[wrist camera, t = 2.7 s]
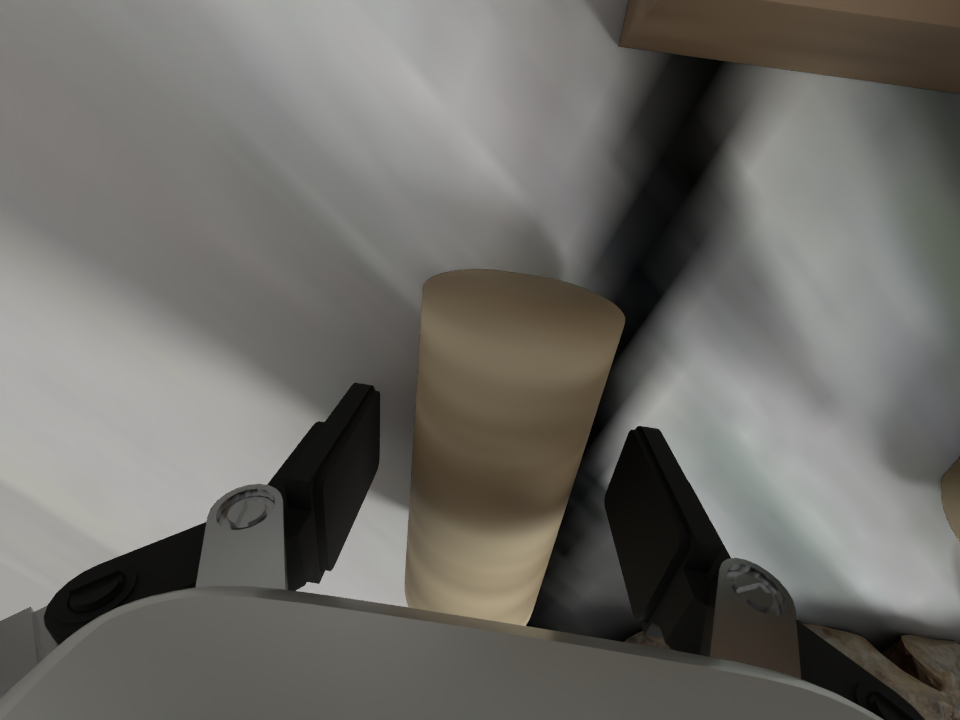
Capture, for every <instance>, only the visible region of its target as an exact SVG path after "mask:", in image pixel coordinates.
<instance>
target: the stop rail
mask: <svg viewBox="0 0 960 720" xmlns="http://www.w3.org/2000/svg"><path fill="white" fill-rule="evenodd" d="M618 46H620V47H627V48H634V49H641V50H648V51H656V52H663V53H670V54H677V55H684V56H692V57H699V58H706V59H713V60H720V61H728V62H735V63H742V64H749V65H756V66H764V67H771V68H778V69H785V70H792V71H800V72H807V73H814V74H821V75H828V76H836V77H843V78H850V79H857V80H864V81H872V82H879V83H886V84H893V85H900V86H908V87H915V88H922V89H929V90H936V91H944V92H951V93H958V94H960V0H629V2H628V6H627V10H626V15H625V19H624V23H623V28H622V32H621V36H620V41H619V45H618Z"/></svg>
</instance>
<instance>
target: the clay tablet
mask: <svg viewBox="0 0 960 720" xmlns="http://www.w3.org/2000/svg"><path fill="white" fill-rule="evenodd" d="M802 624H803V623H802ZM803 625H805V626H806V627H807V628H809V629H810V630H812V631H813V632H814V633H816V634H817V635H818V636H820V637H821V638H822V639H824V640H825V641H827V642H828V643H829V644H831V645H832V646H833V647H835V648H836V649H838V650H839V651H840V652H842V653H843V654H844V655H846V656H847V657H849V658H850V659H851V660H853V661H854V662H855V663H857V664H858V665H859V666H861V667H862V668H864V669H865V670H866V671H868V672H869V673H870V674H872V675H873V676H875V677H876V678H877V679H879V680H880V681H881V682H883V683H884V684H886V685H887V686H888V687H890V688H891V689H892V690H894V691H895V692H896V693H898V694H899V695H900V696H901V697H902V698H904V699H905V700H906V701H907V702H908V703H910V704H911V705H912V706H913V707H914V708H915V709H916V710H917V711H918V712H919V713H920V714H921V716H922V717H923V718H924V719H925V720H960V644H958V643H957V642H955V641H952V640H937V639H930V638H926V637H922V636H917V635H912V634H911V635H903V636H901V638H902V639H901V640H900V641H898V642H897V643H896V644H894V645H893V646H892V647H890V648H889V649H888V650H886V651H885V652H883V653H882V654H881V653H880V652H879V651H878V650H877V649H876V648H875V647H874V646H873V645H871V644H870V643H869V642H868V641H867V640H866V639H865V638H864V637H862V636H859V635H856V634H853V633H850V632H845V631H840V630H836V629H831V628H827V627H824V626H818V625H812V624H803ZM624 642H626V643H632V644H638V645H644V646H651V647H657V648H663V649H669V646H668V645H667V644H666V643H665V642H664V638H658V637H651V636H645V635H644V631H641V632H639V633H637V634H635V635H633V636H632V637H630V638H628V639H627V640H625V641H624Z"/></svg>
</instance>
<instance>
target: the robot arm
mask: <svg viewBox="0 0 960 720" xmlns="http://www.w3.org/2000/svg"><path fill="white" fill-rule="evenodd" d="M379 452H380V392H379V391H375V389H374V386H373V385H366V384H359V383H354V384H353V385H352V386H351V387H350V389H349V390H348V391H347V393H346V394H345V395H344V397H343V398H342V400H341V401H340V402H339V404H338V405H337V406H336V408H335V409H334V410H333V412H332V413H331V414H330V416H329V417H328V419H327V420H326V421H325V422H320V421H319V422H316V423H315V424H314V425H313V426H312V428H311V429H310V430H309V431H308V433H307V434H306V435H305V437H304V438H303V439H302V441H301V442H300V443H299V444H298V446H297V447H296V448H295V450H294V451H293V452H292V453H291V455H290V456H289V457H288V459H287V460H286V461H285V463H284V464H283V465H282V466H281V468H280V469H279V470H278V472H277V473H276V474H275V475H274V477H273V478H272V479H271V481H270V482H269V483H268V485H264V484H253V485H246V486H243V487H240V488H236V489H234V490H232V491H230V492H228V493H226V494H225V495H224V496H222V497H221V498H220V499H219V500H217V501H216V503H215V504H214V505H213V506H212V507H211V509H210V512H209V514H208V517H207V522H205V523H203V524H200V525H198V526H195V527H193V528H190V529H188V530H185V531H183V532H180V533H178V534H175V535H172V536H170V537H167V538H165V539H162V540H160V541H157V542H155V543H152V544H150V545H147V546H145V547H142V548H140V549H137V550H134V551H132V552H129V553H127V554H124V555H122V556H119V557H117V558H114V559H112V560H109V561H107V562H104V563H102V564H99V565H97V566H95V567H93V568H91V569H89V570H87V571H84V572H83V573H81V574H80V575H78V576H77V577H75V578H74V579H72V580H71V581H69V582H68V583H67V584H66V585H65V586H64V587H63V588H62V589H60V590H59V591H58V592H57V593H56V594H55V596H54V597H53V599H52V600H51V601H50V603H49V604H48V606H46V607H44V608H41V609H40V610H37V611H35V612H34V611H33V609H32V608H31V607H29V608H27V609H25V610H23V611H21V612H19V613H17V614H14V615H12V616H10V617H8V618H6V619H4V620H2V621H0V720H925V719H924V718H923V717H922V716H921V714H920V713H919V712H918V711H917V710H916V709H915V708H914V707H913V706H912V705H911V704H910V703H908V702H907V701H906V700H905V699H904V698H902V697H901V696H900V695H899V694H898V693H896V692H895V691H894V690H892V689H891V688H890V687H888V686H887V685H886V684H884V683H883V682H881V681H880V680H879V679H877V678H876V677H875V676H873V675H872V674H870V673H869V672H868V671H866V670H865V669H864V668H862V667H861V666H859V665H858V664H857V663H855V662H854V661H853V660H851V659H850V658H849V657H847V656H846V655H844V654H843V653H842V652H840V651H839V650H838V649H836V648H835V647H833V646H832V645H831V644H829V643H828V642H827V641H825V640H824V639H822V638H821V637H820V636H818V635H817V634H816V633H814V632H813V631H812V630H810V629H809V628H807V627H806V626H805V625H803V624H802V623H801V622H799V621H798V620H796V611H795V606H794V603H793V600H792V598H791V596H790V595H789V593H788V591H787V590H786V589H785V587H784V586H783V585H782V584H781V583H780V582H779V581H778V580H777V579H776V578H775V577H774V576H773V575H771V574H770V573H769V572H768V571H766V570H765V569H763V568H761V567H760V566H758V565H757V564H754V563H752V562H750V561H747V560H744V559H739V558H731V557H730V556H729V554H728V552H727V550H726V548H725V546H724V545H723V543H722V541H721V539H720V537H719V535H718V534H717V532H716V530H715V528H714V526H713V525H712V523H711V521H710V519H709V517H708V515H707V514H706V512H705V510H704V508H703V506H702V505H701V503H700V501H699V499H698V497H697V495H696V494H695V492H694V490H693V488H692V486H691V485H690V483H689V482H688V480H687V479H686V477H685V475H684V473H683V471H682V469H681V468H680V466H679V464H678V462H677V460H676V458H675V457H674V455H673V453H672V451H671V449H670V447H669V446H668V444H667V442H666V440H665V438H664V437H663V435H662V433H661V431H660V430H659V429H656V428H649V427H642V426H638V427H637V428H636V429H635V430H630V432H629V433H628V436H627V439H626V441H625V444H624V447H623V449H622V452H621V455H620V457H619V460H618V462H617V465H616V468H615V470H614V473H613V476H612V478H611V481H610V484H609V486H608V489H607V492H606V494H605V501H604V502H605V509H606V513H607V517H608V520H609V524H610V528H611V532H612V536H613V539H614V543H615V547H616V551H617V555H618V558H619V562H620V566H621V570H622V574H623V577H624V581H625V585H626V589H627V593H628V596H629V600H630V604H631V608H632V611H633V614H634V617H635V618H636V619H637V620H640V621H641V624H642V628H643V631H644V635H645V636H651V637H658V638H664V642H665V643H666V644H667V645H668V646H669V649H663V648H657V647H651V646H644V645H638V644H632V643H626V642H620V641H614V640H608V639H602V638H596V637H590V636H584V635H578V634H572V633H566V632H559V631H553V630H547V629H541V628H535V627H528V626H522V625H516V624H510V623H503V622H497V621H491V620H484V619H478V618H472V617H465V616H459V615H453V614H447V613H440V612H434V611H427V610H421V609H414V608H408V607H401V606H395V605H388V604H382V603H375V602H368V601H362V600H355V599H349V598H342V597H335V596H328V595H320V594H313V593H305V592H298V591H296V590H297V589H299V588H301V587H303V586H304V585H305V584H306V582H312V583H318V584H319V583H320V581H321V578H322V576H323V574H324V572H325V570H328V571H331V570H332V569H333V567H334V565H335V563H336V561H337V559H338V557H339V554H340V552H341V550H342V548H343V545H344V543H345V541H346V539H347V537H348V534H349V532H350V530H351V528H352V525H353V523H354V521H355V519H356V517H357V514H358V512H359V510H360V508H361V505H362V503H363V501H364V499H365V497H366V494H367V492H368V490H369V488H370V485H371V483H372V481H373V479H374V476H375V474H376V472H377V469H378V465H379Z"/></svg>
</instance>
